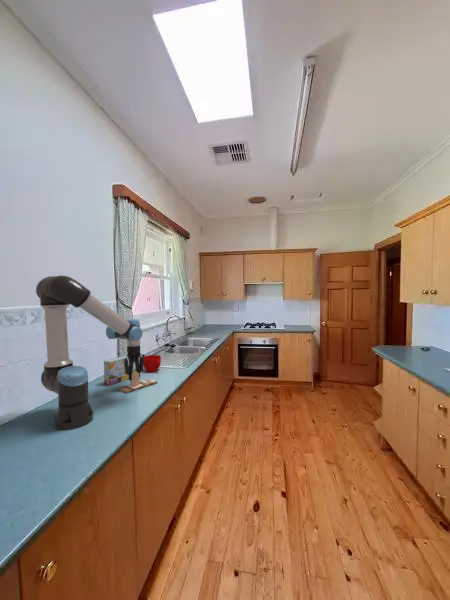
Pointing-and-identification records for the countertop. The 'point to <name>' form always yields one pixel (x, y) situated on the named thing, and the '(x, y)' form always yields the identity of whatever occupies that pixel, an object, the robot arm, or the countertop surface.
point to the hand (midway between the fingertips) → (134, 384)
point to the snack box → (116, 371)
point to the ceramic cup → (152, 362)
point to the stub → (135, 381)
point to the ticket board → (145, 384)
